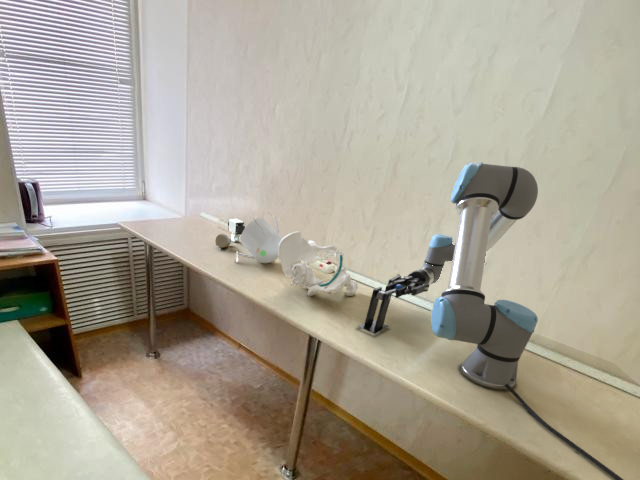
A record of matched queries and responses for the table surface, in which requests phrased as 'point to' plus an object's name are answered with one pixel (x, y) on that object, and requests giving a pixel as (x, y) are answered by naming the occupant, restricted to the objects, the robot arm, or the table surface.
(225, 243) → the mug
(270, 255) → the satellite
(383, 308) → the lever stand
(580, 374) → the table surface
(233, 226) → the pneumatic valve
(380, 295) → the tap lever
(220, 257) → the table surface
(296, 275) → the pelvis
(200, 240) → the table surface
